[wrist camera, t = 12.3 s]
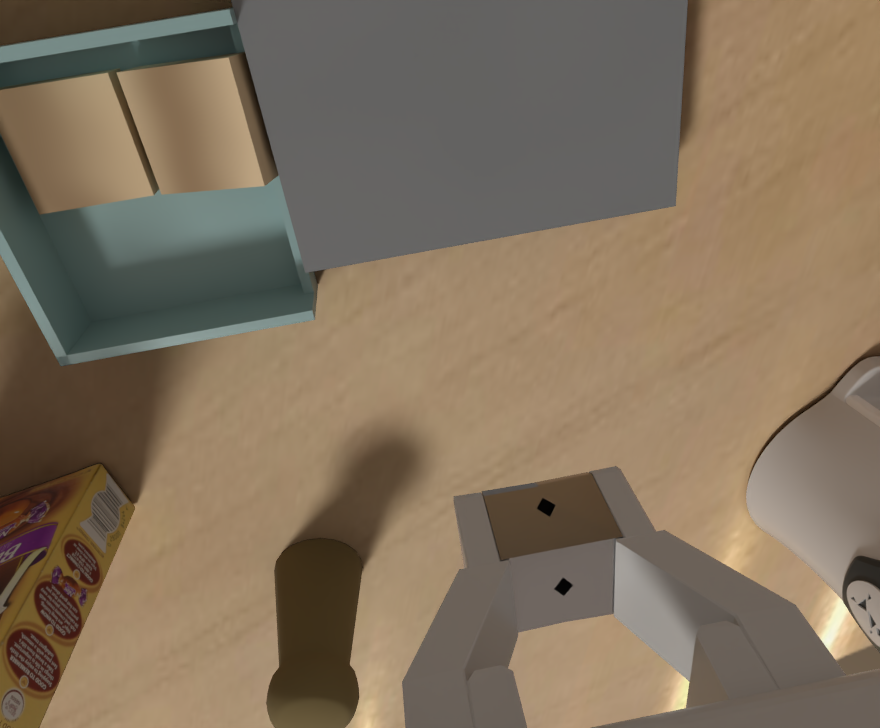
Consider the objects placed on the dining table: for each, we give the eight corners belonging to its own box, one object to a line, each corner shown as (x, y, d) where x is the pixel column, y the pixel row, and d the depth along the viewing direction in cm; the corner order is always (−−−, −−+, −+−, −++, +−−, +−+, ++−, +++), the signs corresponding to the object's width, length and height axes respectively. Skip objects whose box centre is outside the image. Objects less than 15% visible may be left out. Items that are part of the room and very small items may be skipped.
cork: (273, 539, 42) (253, 696, 33) (364, 537, 43) (370, 690, 34) (275, 600, 45) (257, 760, 36) (360, 597, 46) (364, 752, 37)
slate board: (662, -151, 26) (697, -166, 23) (650, 188, 33) (675, 205, 31) (220, -81, 25) (207, -88, 23) (308, 249, 32) (305, 272, 30)
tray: (243, 5, 27) (229, 9, 23) (317, 285, 34) (314, 319, 30) (-45, 53, 26) (-103, 63, 23) (89, 326, 33) (60, 366, 30)
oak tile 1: (246, 51, 26) (228, 57, 24) (279, 175, 28) (264, 186, 27) (138, 66, 27) (116, 72, 26) (180, 183, 29) (161, 194, 28)
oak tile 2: (-20, 93, 25) (-1, 87, 27) (39, 214, 28) (53, 203, 29) (107, 72, 25) (119, 67, 27) (153, 195, 28) (162, 185, 29)
